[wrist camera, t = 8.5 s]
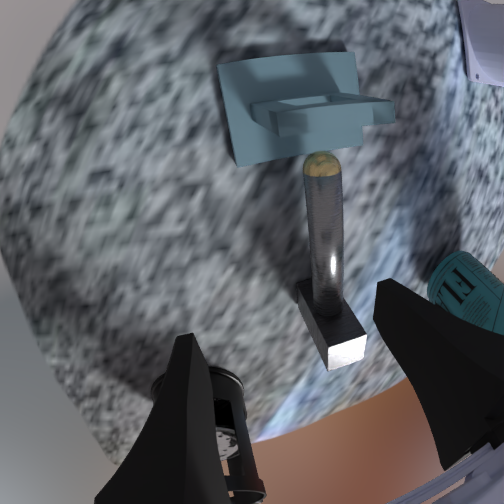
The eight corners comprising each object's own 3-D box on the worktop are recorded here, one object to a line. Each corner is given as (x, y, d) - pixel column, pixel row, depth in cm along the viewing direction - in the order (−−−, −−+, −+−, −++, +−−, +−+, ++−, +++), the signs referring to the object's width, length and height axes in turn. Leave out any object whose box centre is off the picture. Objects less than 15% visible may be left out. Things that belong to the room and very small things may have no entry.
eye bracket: (216, 65, 14) (230, 55, 9) (348, 52, 15) (411, 49, 10) (235, 164, 18) (257, 202, 12) (357, 142, 18) (416, 171, 13)
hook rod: (278, 142, 17) (323, 176, 12) (319, 136, 17) (378, 166, 12) (298, 307, 24) (327, 371, 19) (328, 299, 25) (363, 358, 19)
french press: (127, 389, 27) (138, 612, 7) (193, 348, 25) (242, 628, 6) (206, 426, 33) (239, 599, 13) (269, 395, 31) (330, 588, 12)
